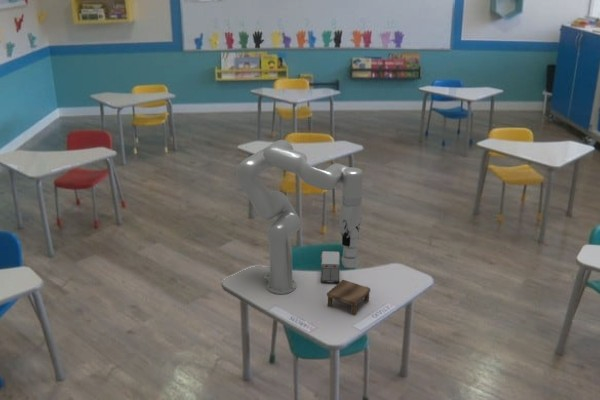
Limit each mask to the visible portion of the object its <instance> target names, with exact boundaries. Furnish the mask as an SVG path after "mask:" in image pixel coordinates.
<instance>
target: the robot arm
mask: <svg viewBox="0 0 600 400" xmlns="http://www.w3.org/2000/svg"><path fill="white" fill-rule="evenodd" d="M307 161H308V160H307V155H306V153H304V152H300V151H297V150H294V148H293V145H292V144H291V143H290V142H289V141H287V140H285V139H279V140H276V141H274V142H272V143H271V144H269V145H268V146H267V147H265V148H263V149H260V150H259V151H257V152H256V153H253V154H252V155H250V156H248V157H246V158H245V159H243V160H242V161H241V162H240V163H239V164H238V165H237V167H236V171H235V178H236V182H237V184H238V185H239V187H240V188H241V190H242V191H243V192H244V193H245V195H246V196H247V198H248V200H249V202H250V203H251V205H252V207H253V208H254V210H255V211H256V214H257V215H258V216H259V218H260V219H262V220H263V221H269V220H272V219H273V218H276V219H275V220H274V221H273V222H271V224H270V225H268V228H267V230H266V235H267V236H266V237H267V242H268V248H269V251H268V252H269V272H268V271H265V272H264V276H263V279H265V280H268V281H267V283H266V289H267V290H268V292H271V293H272V294H276V295H286V294H287V295H288V294H289V293H292V292H293V291H294V290H296V288H297V283H296V281H295V280H294V279H293V248H292V244H291V238H292V237H293V236H294V235H295V234H296V233H297V232H298V231H299V230H300V228H301V219H300V217H299V215H298V213H297V212H296V209H295V207H293V205H292V203H291V202H290V200H289V198H288V197H287V196H286V194H285V193H284V192H282V191H279V190H272V191H270V192H269V190H268V188H267V187H266V185H265V184H264V182H262V181H261V180H260V179H258V177H259V176H260V175H262V174H263V173H265V172H267V171H269V170H270V169H272V168H273V167H274V168H277V169H279V170H284V171H286V172H289V173H292V174H295V175H297V177H299V179H300V180H302V181H303V182H304V183H306V184H307V185H309V186H311V187H314V188H317V189H321V190H323V191H324V190H325V191H330V190H334V189H335V188H336V187H337V186H338V185H340V184H341V185H342V188H341V189H342V190H341V191H342V193H341V194H342V196H341V207H340V212H339V213H340V214H339V221H338V222H339V223H338V224H339V226H338V228H339V233H340V235H341V243H342V244H341V245H342V246H348V247H349V246H350V237H349V235H350V231H351V230H352V229H354V228H355V227H356V228H357V230H358V232H359V233H360V225H361V222H362V217H363V216H362V214H363V213H362V204H363V202H362V201H363V186H364V185H363V181H364V180H363V179H364V171H363V170H362V168H361V169H360V168H358V167H354V166H353V167H349V166H347V165H343V164H341V163H332V164H330V165H329V166H328V167H326V168H325V169H324V170H323V169H320V168H316V167H314V166H312V165H311V164H310V163H308V162H307ZM346 227H347V228H348V229H346ZM345 230H346V231H348V233H346V232H345ZM358 240H359V237H358Z"/></svg>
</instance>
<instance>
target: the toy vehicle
mask: <svg viewBox="0 0 600 400" xmlns="http://www.w3.org/2000/svg"><path fill="white" fill-rule="evenodd" d="M340 255H341V254H340V251H326V250H325V251H322V252H321V255H320V257H319V259H320V260H321V264H320V266H321V277H320V278H321V279H320V282H321V283H337V284H338V283H339V282H340V267H341V263H340V260H341V261H342V256H340Z"/></svg>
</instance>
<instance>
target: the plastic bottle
mask: <svg viewBox="0 0 600 400" xmlns="http://www.w3.org/2000/svg"><path fill="white" fill-rule="evenodd" d="M346 229H348V228H347V227H346ZM345 232H346V233H348V231H346V230H345ZM359 236H360V231H359V232H358V230H357V228H356V227H355V228H354V229H352V230H351V231H350V235H349V237H350V246H349V247H348V246H344V245H342V246H343V247H342V248H343V250H342V256H341V264H342V266H343V267H344V268H345V269H352V270H353V269H355V268H357V266H358V264H359V261H358V260H359V258H358V241H359V239H358V237H359Z"/></svg>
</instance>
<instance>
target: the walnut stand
mask: <svg viewBox="0 0 600 400" xmlns="http://www.w3.org/2000/svg"><path fill="white" fill-rule="evenodd" d="M370 292H371V288H370V287H367V286H365V285H361V284H358V283H355V282H352V281H348V280H346V279H341V280H339V283H338V282H337V284H336V285H335V286H334V287H332V288H331V289H330V290H329V291H328V292H327V293H326V297H327V306H328V307H330V308H331V307H332V306H333V305H334V303H333V300H336V301H339V302H342V303H345V304H347V305H351V311H350V312H351V313H350V315H352V316H356V315H357V310H358V309H357V305H358V304H359V303H361V301H363V302H365V303H368V302H370Z"/></svg>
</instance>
